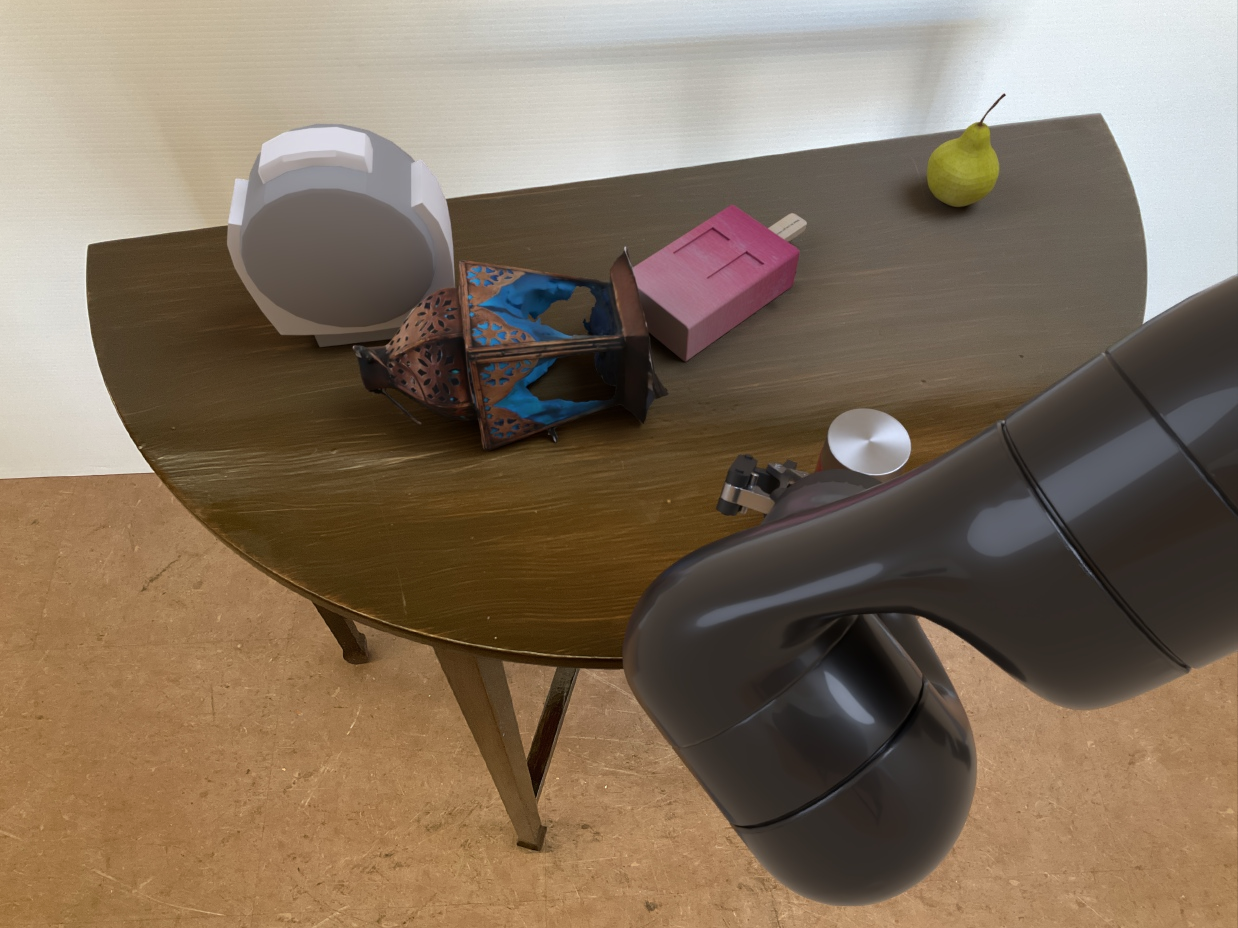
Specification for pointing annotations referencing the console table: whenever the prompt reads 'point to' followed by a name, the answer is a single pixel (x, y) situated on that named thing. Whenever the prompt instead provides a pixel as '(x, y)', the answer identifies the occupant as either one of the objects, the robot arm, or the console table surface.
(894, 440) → the can
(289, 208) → the alarm clock
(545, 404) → the lantern
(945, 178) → the fruit
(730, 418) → the console table surface
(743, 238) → the popsicle
